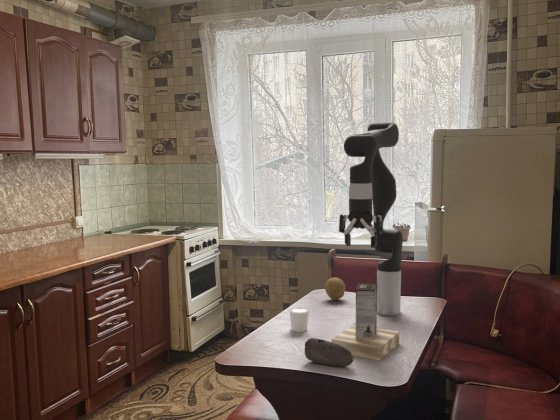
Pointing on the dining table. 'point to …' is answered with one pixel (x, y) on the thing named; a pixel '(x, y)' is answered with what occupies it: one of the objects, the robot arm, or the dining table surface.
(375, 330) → the coffee box
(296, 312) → the white faceted cup
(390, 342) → the birch plinth
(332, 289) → the natural sponge
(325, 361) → the perforated stone tool
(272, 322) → the dining table surface
